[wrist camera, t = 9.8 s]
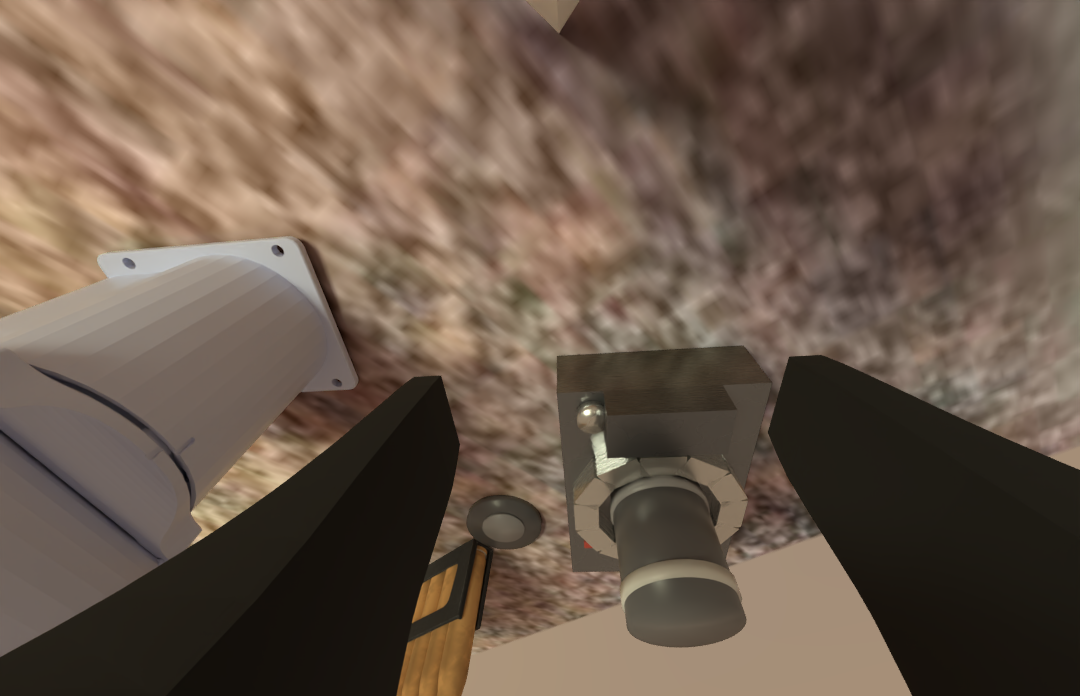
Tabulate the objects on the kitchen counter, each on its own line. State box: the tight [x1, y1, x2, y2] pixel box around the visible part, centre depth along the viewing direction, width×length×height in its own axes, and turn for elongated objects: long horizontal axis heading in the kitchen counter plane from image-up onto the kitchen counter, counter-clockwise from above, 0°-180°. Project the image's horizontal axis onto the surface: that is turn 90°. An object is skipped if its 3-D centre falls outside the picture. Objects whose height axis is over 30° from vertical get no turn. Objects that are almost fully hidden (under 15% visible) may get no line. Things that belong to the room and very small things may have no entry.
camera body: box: [557, 346, 772, 572], centre depth 21 cm, size 9×14×5 cm, turn 5°
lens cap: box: [467, 495, 541, 549], centre depth 27 cm, size 5×5×1 cm
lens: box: [610, 476, 746, 647], centre depth 17 cm, size 5×5×6 cm
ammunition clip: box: [397, 539, 493, 696], centre depth 25 cm, size 11×2×12 cm, turn 134°
